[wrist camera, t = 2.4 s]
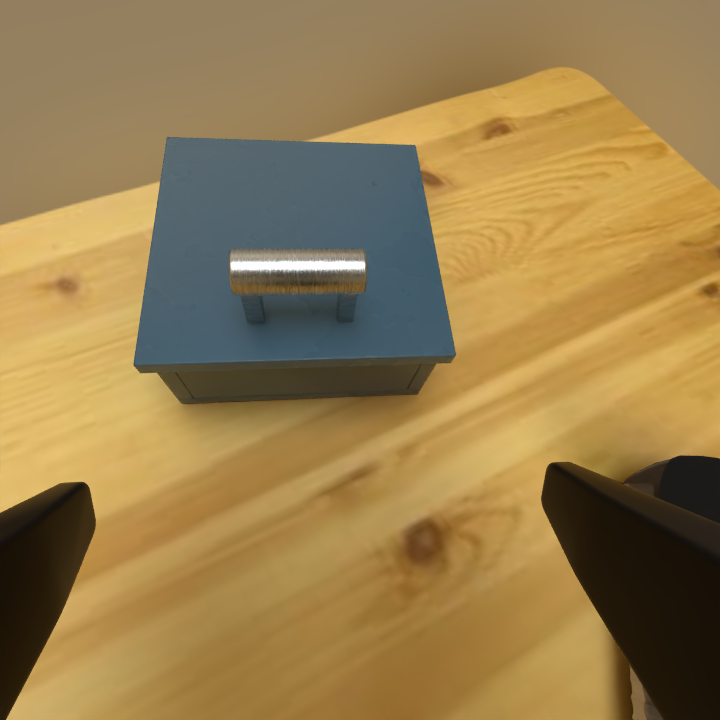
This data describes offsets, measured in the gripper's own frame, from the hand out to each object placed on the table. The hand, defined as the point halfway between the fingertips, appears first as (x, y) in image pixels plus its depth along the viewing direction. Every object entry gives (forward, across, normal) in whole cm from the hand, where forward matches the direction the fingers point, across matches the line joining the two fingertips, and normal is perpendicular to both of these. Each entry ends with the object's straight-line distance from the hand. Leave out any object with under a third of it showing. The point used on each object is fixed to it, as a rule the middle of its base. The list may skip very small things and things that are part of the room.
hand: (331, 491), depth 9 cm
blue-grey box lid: (+14, +1, -4) cm, 14 cm away
